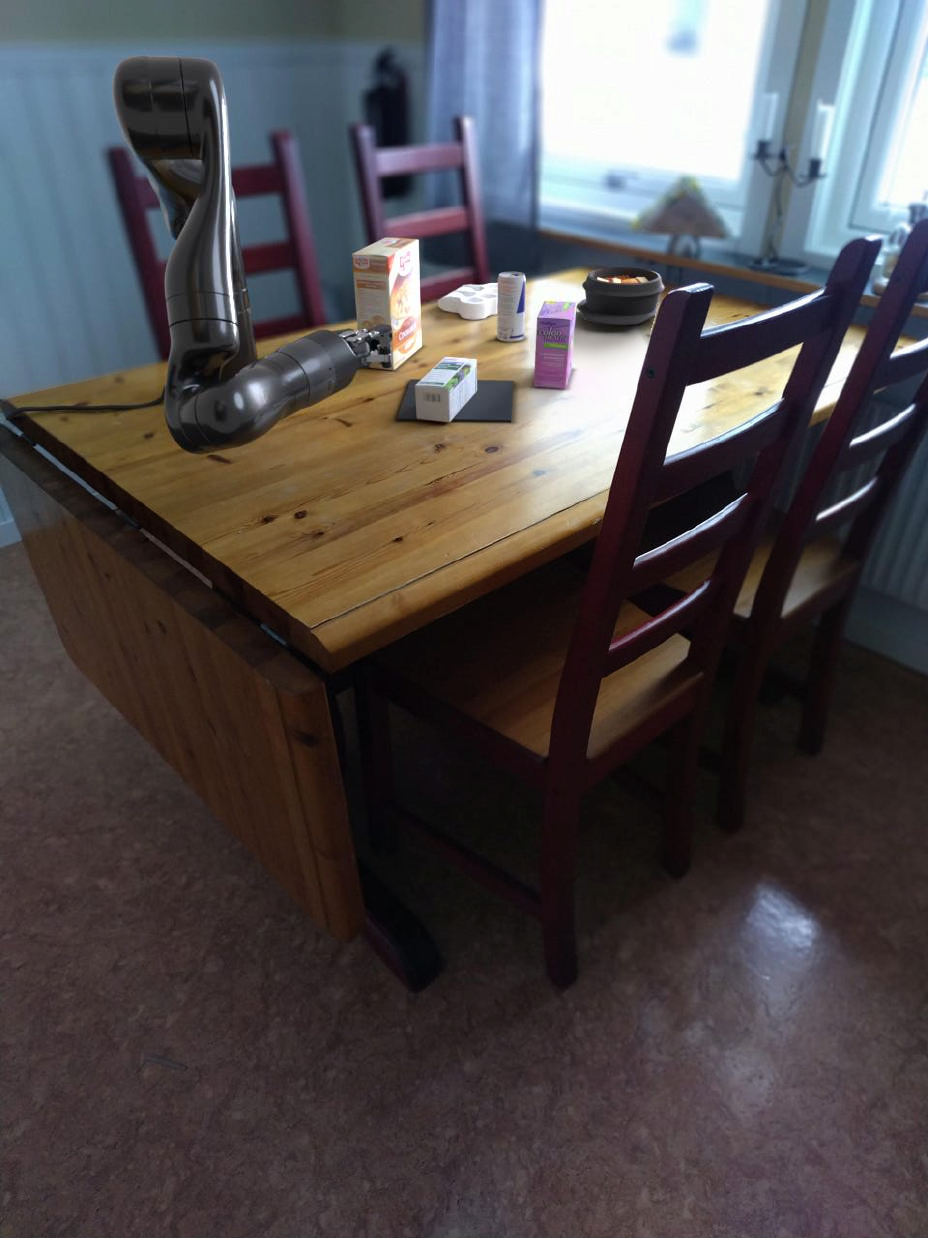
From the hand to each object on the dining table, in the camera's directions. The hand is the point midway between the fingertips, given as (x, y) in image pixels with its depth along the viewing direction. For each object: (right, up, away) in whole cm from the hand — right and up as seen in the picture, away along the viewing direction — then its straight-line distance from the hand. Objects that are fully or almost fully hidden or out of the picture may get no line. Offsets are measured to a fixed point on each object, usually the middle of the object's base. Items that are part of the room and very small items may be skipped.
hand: (387, 331), depth 114 cm
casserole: (+44, +25, +66) cm, 83 cm away
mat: (+9, -3, +26) cm, 28 cm away
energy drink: (+20, +17, +54) cm, 60 cm away
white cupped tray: (+14, +30, +72) cm, 79 cm away
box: (+26, +3, +35) cm, 44 cm away
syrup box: (+5, -6, +16) cm, 18 cm away
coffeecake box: (-3, +11, +46) cm, 47 cm away
